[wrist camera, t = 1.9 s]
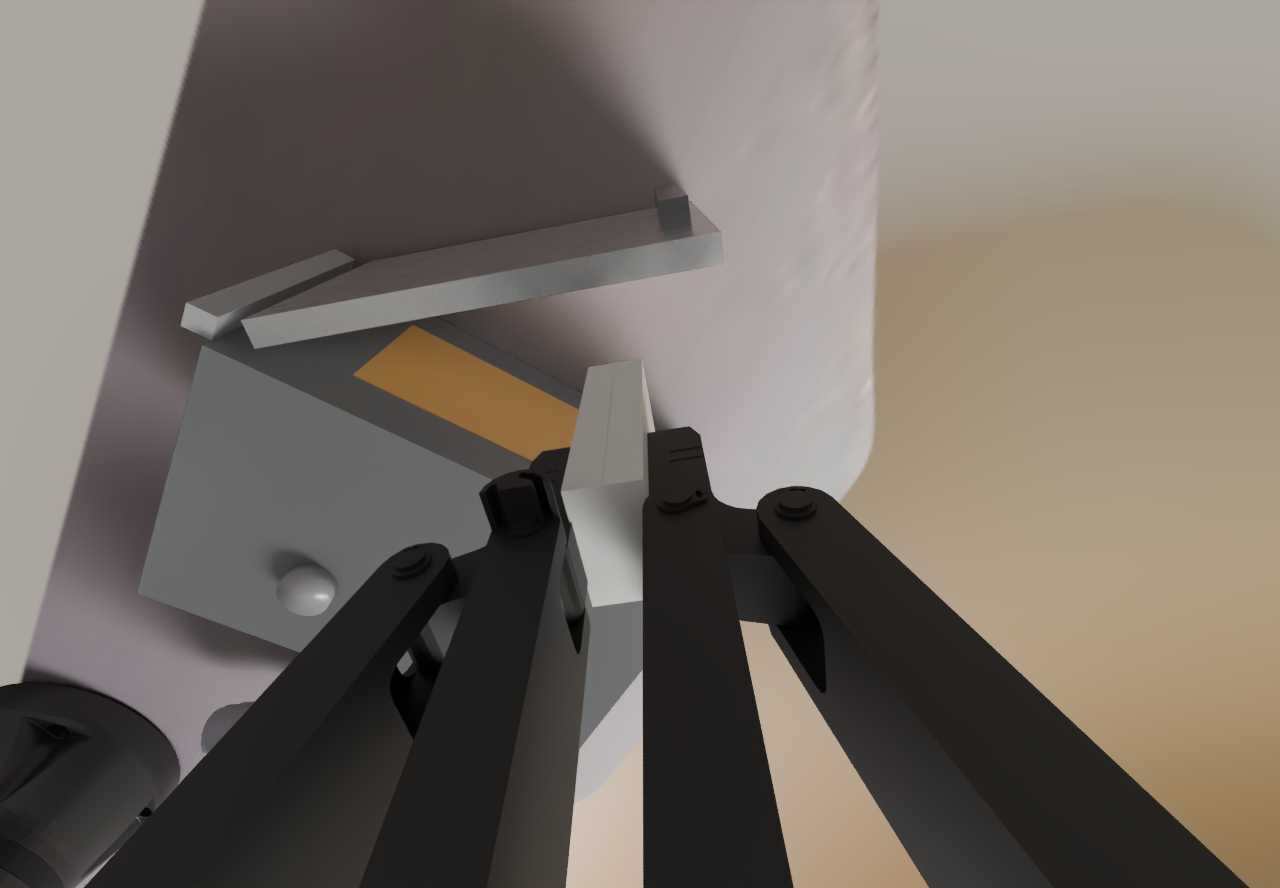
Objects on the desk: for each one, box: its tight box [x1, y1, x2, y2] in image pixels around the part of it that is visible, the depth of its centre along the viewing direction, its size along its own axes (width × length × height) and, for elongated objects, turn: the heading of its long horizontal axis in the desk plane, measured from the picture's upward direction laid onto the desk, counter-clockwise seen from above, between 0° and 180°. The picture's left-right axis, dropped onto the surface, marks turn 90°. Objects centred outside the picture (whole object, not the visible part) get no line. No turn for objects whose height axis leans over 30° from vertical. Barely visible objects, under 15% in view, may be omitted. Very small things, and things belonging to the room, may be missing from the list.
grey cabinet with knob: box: [137, 249, 657, 749], centre depth 29 cm, size 13×24×13 cm, turn 60°
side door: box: [241, 185, 724, 349], centre depth 24 cm, size 2×16×11 cm, turn 100°
